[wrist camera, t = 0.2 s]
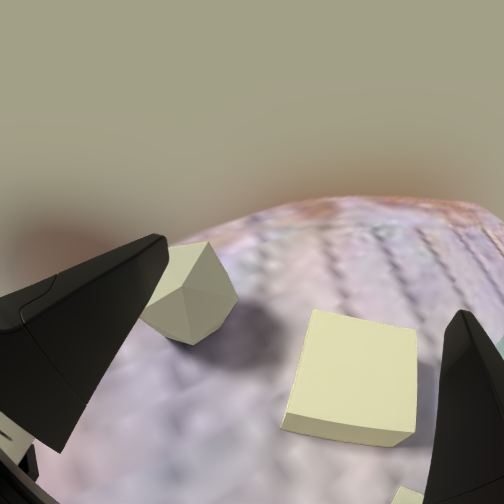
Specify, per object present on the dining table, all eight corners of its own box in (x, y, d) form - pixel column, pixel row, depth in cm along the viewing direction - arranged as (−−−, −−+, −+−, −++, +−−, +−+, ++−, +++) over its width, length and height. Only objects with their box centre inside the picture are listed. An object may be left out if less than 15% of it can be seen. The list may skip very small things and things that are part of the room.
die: (230, 285, 32) (170, 215, 28) (275, 308, 24) (199, 216, 21) (176, 342, 30) (107, 276, 26) (205, 382, 22) (112, 301, 18)
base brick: (391, 447, 18) (414, 432, 15) (280, 428, 20) (286, 412, 17) (398, 355, 25) (416, 330, 22) (305, 336, 26) (313, 308, 24)
